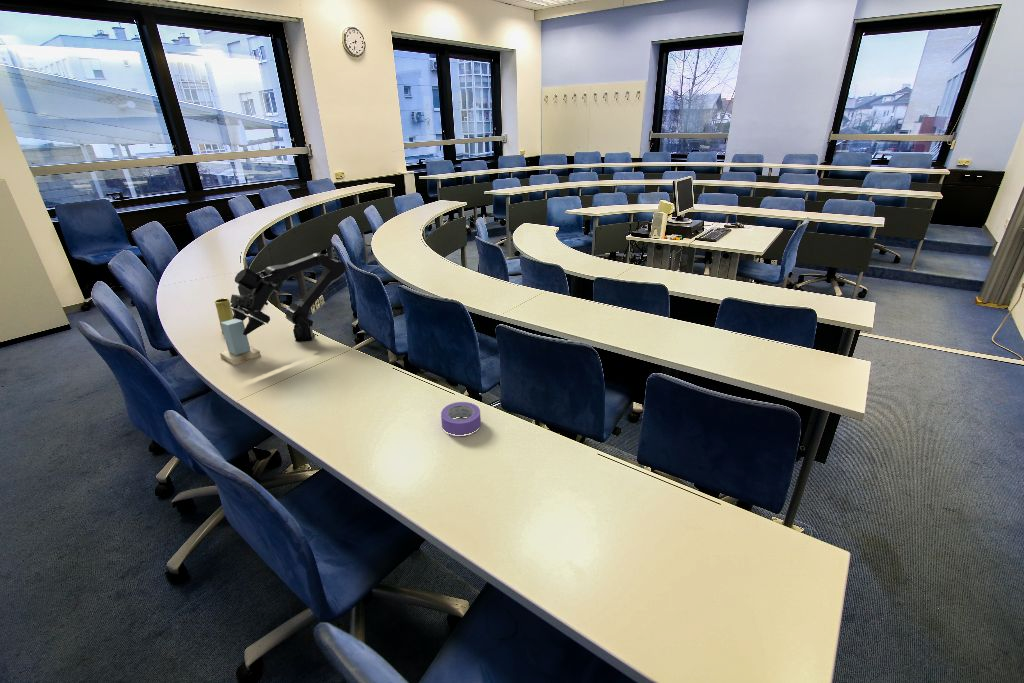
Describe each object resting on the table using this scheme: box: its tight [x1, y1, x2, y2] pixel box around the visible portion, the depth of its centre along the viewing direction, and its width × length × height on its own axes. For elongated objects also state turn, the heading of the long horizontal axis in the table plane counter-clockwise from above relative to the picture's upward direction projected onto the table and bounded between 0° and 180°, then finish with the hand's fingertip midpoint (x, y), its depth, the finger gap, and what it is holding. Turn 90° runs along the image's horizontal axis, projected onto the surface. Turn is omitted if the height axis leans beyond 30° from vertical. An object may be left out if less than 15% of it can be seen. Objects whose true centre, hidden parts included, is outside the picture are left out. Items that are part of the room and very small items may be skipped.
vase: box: [214, 297, 234, 334], centre depth 200 cm, size 6×6×14 cm
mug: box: [237, 284, 255, 296], centre depth 234 cm, size 12×9×11 cm
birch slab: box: [219, 345, 261, 366], centre depth 179 cm, size 10×10×2 cm
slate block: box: [220, 318, 251, 355], centre depth 176 cm, size 6×6×12 cm
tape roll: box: [440, 401, 482, 435], centre depth 141 cm, size 12×12×5 cm
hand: (238, 331), depth 176 cm, fingers open, 9 cm apart
